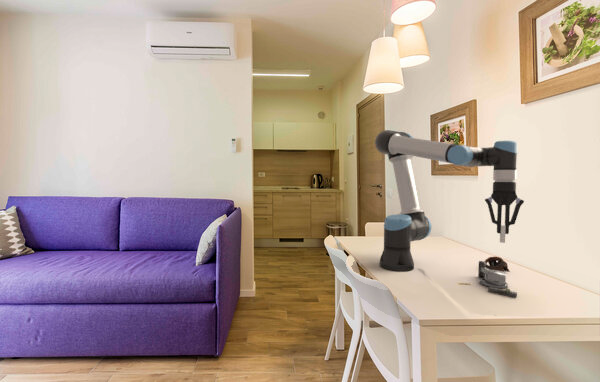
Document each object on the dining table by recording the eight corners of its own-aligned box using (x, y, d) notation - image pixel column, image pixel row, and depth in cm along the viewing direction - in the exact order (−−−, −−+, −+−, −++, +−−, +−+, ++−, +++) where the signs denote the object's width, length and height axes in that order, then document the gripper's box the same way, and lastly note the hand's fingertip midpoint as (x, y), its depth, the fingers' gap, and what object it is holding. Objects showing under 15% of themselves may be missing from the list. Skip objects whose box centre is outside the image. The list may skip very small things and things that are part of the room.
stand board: (452, 288, 119) (453, 278, 119) (469, 277, 133) (469, 268, 133) (515, 303, 106) (515, 291, 105) (526, 288, 119) (526, 278, 119)
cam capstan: (513, 289, 114) (513, 272, 114) (486, 288, 115) (487, 271, 115) (491, 276, 129) (492, 261, 128) (468, 275, 129) (469, 260, 129)
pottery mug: (516, 278, 134) (510, 262, 132) (493, 286, 135) (487, 271, 133) (501, 263, 145) (495, 248, 143) (480, 271, 147) (474, 256, 145)
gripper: (523, 181, 124) (521, 242, 125) (484, 181, 130) (482, 238, 131) (526, 181, 118) (524, 245, 119) (485, 181, 124) (483, 242, 125)
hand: (502, 242), depth 125 cm, fingers closed
